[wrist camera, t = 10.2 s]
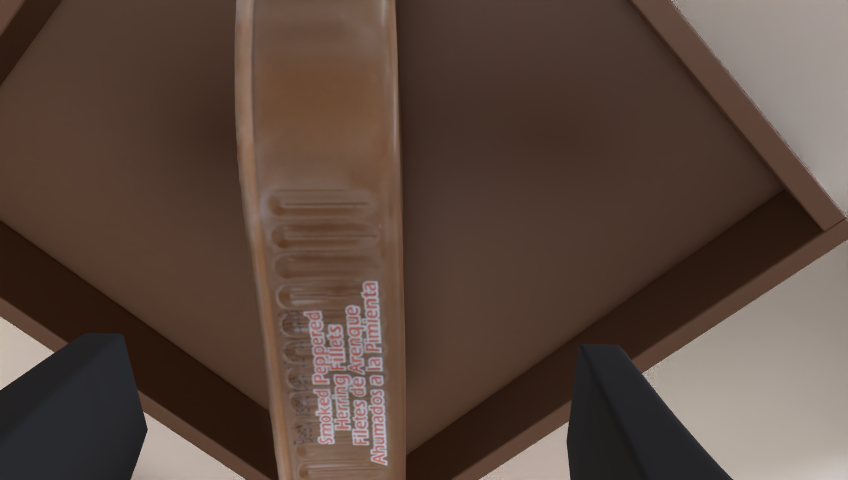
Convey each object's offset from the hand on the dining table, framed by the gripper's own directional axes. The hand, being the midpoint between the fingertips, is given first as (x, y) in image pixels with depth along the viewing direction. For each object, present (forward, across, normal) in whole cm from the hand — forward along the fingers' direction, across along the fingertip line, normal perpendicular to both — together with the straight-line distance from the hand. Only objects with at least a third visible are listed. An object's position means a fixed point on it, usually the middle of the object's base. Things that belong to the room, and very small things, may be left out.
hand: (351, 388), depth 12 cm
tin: (+10, +1, +1) cm, 10 cm away
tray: (+10, +1, +1) cm, 10 cm away
